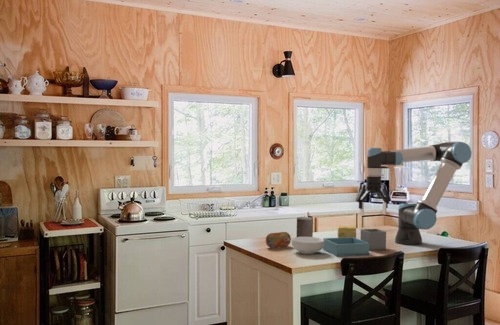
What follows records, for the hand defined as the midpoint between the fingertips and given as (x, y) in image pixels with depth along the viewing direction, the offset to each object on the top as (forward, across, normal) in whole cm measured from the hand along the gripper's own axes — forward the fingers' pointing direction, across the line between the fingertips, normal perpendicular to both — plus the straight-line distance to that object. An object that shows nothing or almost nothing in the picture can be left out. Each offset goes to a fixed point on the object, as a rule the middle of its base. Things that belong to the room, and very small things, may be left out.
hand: (373, 214), depth 265 cm
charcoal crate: (+19, 0, 0) cm, 19 cm away
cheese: (+19, +8, -16) cm, 26 cm away
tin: (+19, +50, -15) cm, 55 cm away
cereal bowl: (+19, +39, +2) cm, 43 cm away
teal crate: (+19, +19, +5) cm, 27 cm away
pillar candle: (+19, +29, -29) cm, 45 cm away
